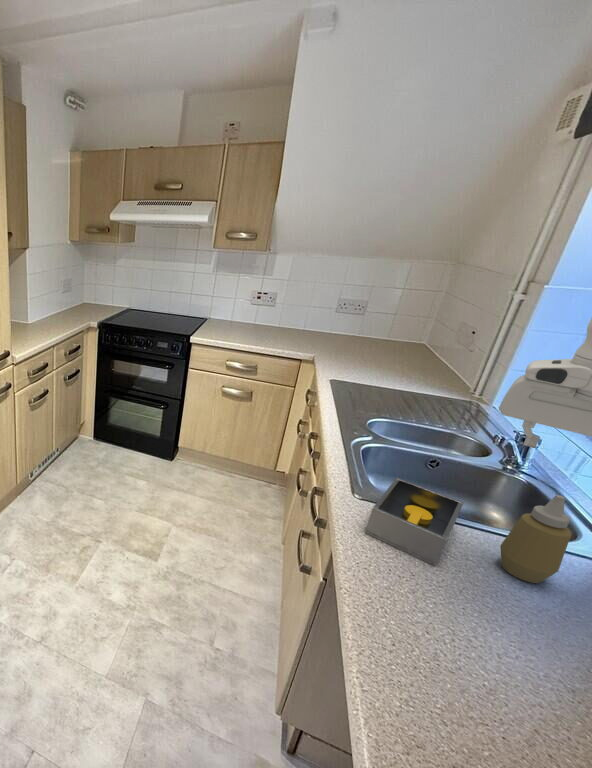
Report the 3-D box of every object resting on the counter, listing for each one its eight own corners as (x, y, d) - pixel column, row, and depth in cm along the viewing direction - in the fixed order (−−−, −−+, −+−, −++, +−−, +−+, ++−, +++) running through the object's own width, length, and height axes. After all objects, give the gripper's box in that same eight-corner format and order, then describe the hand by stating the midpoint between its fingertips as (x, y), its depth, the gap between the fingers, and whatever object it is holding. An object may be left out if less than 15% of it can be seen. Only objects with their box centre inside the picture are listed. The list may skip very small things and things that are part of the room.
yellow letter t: (433, 518, 96) (436, 509, 95) (419, 544, 87) (422, 535, 87) (406, 507, 100) (409, 498, 99) (390, 531, 91) (393, 523, 90)
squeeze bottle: (557, 595, 77) (603, 517, 70) (499, 576, 81) (538, 500, 74) (541, 567, 83) (582, 493, 77) (488, 551, 87) (523, 479, 81)
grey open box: (388, 500, 103) (396, 477, 101) (453, 526, 94) (463, 502, 92) (364, 533, 92) (372, 507, 89) (435, 566, 83) (447, 539, 80)
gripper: (723, 393, 58) (672, 477, 63) (519, 359, 72) (490, 429, 77) (733, 404, 54) (677, 493, 59) (515, 366, 68) (485, 439, 73)
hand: (569, 456), depth 68 cm, fingers open, 8 cm apart
